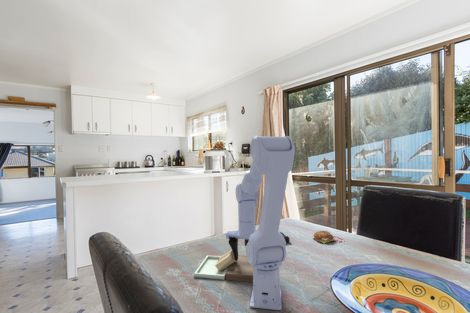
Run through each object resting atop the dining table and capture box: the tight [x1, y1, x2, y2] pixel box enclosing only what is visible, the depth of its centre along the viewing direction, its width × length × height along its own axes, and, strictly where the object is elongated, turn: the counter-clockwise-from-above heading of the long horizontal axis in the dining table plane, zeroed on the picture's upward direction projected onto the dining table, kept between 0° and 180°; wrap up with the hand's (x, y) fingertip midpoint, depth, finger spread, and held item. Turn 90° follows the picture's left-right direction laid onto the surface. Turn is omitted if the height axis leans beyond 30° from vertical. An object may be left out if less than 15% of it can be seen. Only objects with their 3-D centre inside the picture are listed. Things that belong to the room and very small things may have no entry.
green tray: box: [193, 255, 229, 280], centre depth 83 cm, size 14×10×1 cm
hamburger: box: [312, 230, 346, 244], centre depth 108 cm, size 14×14×6 cm
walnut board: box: [225, 254, 253, 283], centre depth 81 cm, size 14×9×2 cm, turn 169°
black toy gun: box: [244, 231, 291, 246], centre depth 110 cm, size 3×20×16 cm
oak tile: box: [215, 249, 235, 272], centre depth 82 cm, size 6×6×2 cm
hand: (247, 260), depth 81 cm, fingers open, 7 cm apart
